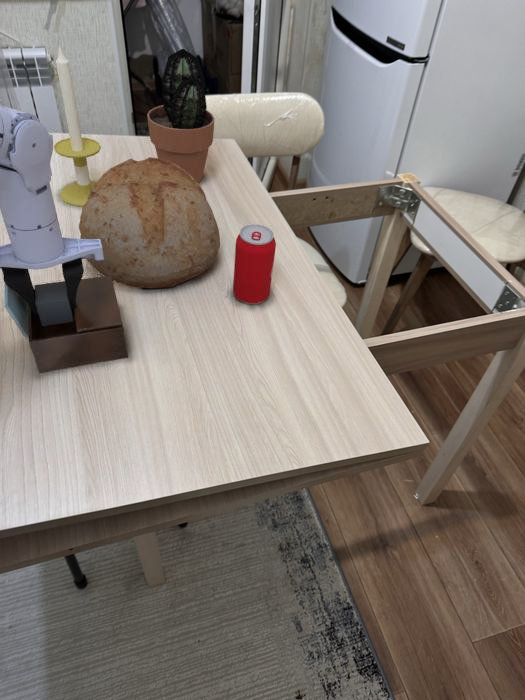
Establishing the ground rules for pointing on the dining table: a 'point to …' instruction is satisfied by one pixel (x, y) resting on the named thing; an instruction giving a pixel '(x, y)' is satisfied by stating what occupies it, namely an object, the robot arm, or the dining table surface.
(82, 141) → the candle
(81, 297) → the box
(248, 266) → the beverage can
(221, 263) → the dining table surface
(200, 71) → the potted plant
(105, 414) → the dining table surface
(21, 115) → the robot arm
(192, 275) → the bread
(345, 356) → the dining table surface
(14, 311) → the door
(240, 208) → the dining table surface
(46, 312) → the block
